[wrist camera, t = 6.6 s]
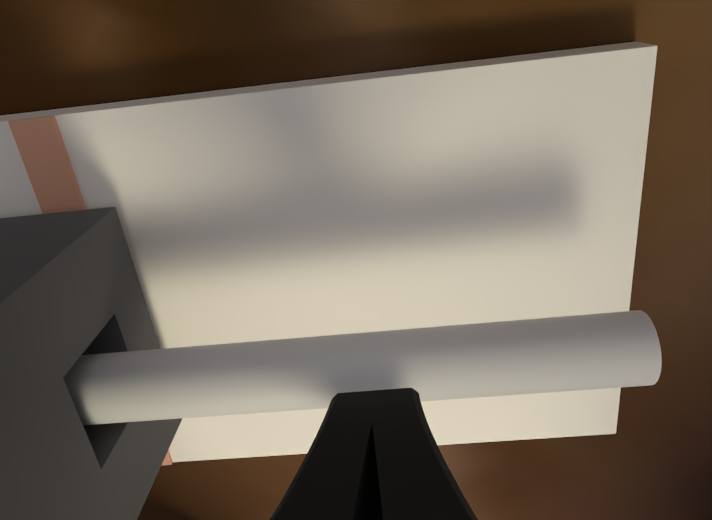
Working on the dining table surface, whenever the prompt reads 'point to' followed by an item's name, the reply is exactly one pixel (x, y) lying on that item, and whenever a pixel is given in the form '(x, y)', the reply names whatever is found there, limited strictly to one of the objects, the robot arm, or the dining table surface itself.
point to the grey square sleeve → (56, 357)
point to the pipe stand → (366, 246)
